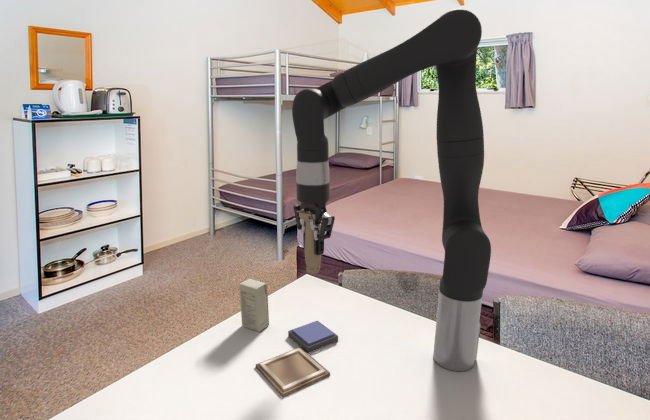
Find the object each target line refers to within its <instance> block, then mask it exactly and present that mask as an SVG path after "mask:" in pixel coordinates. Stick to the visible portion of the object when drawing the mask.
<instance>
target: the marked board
mask: <svg viewBox="0 0 650 420" xmlns="http://www.w3.org/2000/svg"><path fill="white" fill-rule="evenodd" d="M255 368H256V369H257V370H258V371H259V372H260V373H261V374H262V376H263V377H264V378H265V379H266V380H267V381H268V382H269V383H270V384H271V386H272V387H273V388H274V389H275V390H276V391H277V392H278V393H279V395H280V396H282V397H285V396H287V395H290V394H292V393H295V392H296V391H298V390H301V389H303V388H305V387H307V386H309V385H312V384H314V383H316V382H318V381H320V380H322V379H325V378H327V377H329V376H331V372H330V371H328V369H327V368H325V367H324V366H323V365H322V364H321V363H320V362H318V361H317V360H316V359H315V357H313V356H312V355H311V354H310V353H307V352H306V351H305V350H304V349H302V348H301V347H300V346H299V347H297V348H295V349H292V350H289V351H286V352H284V353H281V354H279V355H276V356H273V357H271V358H268V359H266V360H263V361H261V362H258V363H256V364H255Z"/></svg>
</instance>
